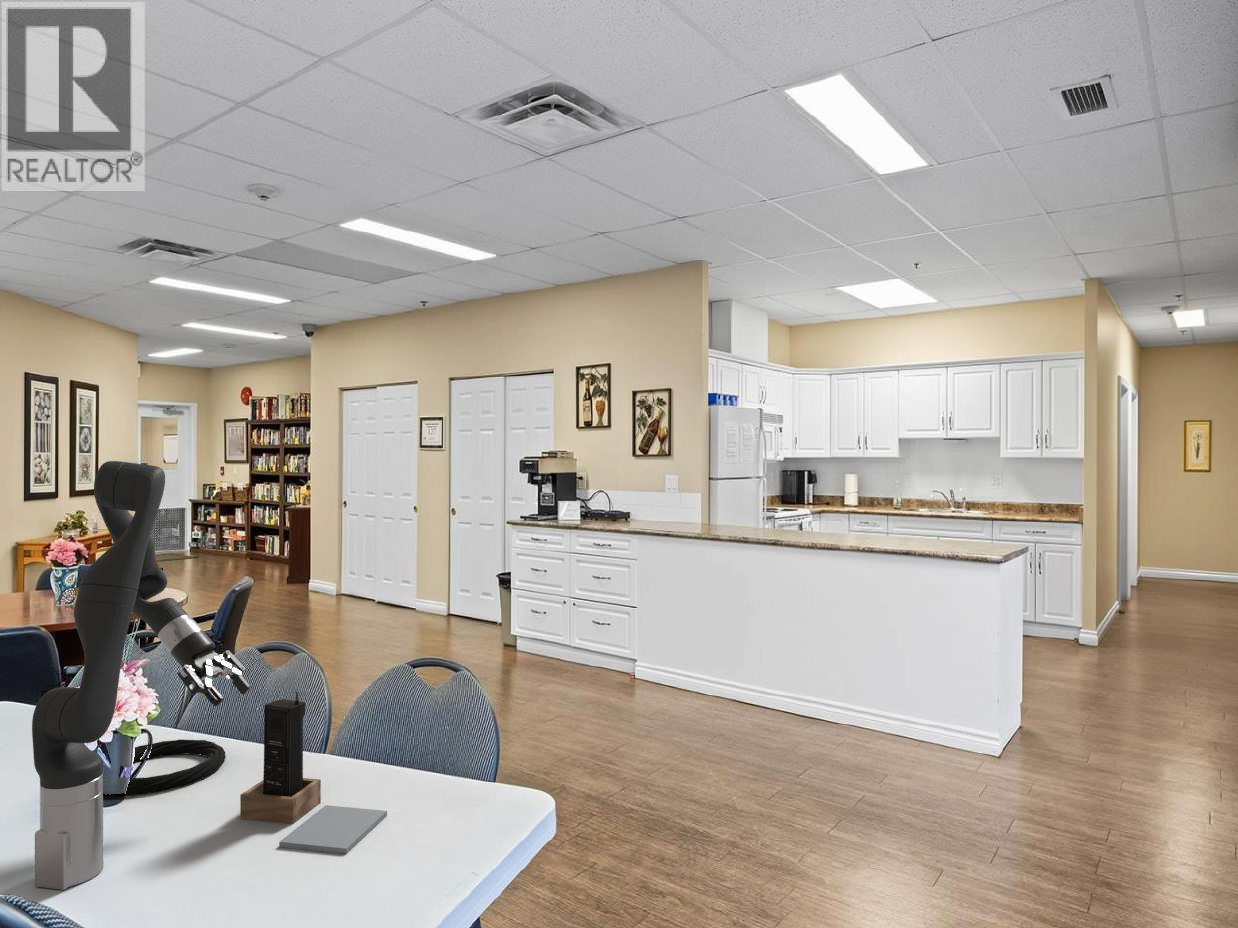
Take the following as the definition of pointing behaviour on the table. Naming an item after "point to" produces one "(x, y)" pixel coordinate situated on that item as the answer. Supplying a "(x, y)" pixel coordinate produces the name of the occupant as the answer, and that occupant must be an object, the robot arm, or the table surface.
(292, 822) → the walnut collar
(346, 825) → the slate mat
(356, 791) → the table surface
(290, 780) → the portable radio
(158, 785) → the cable lock
